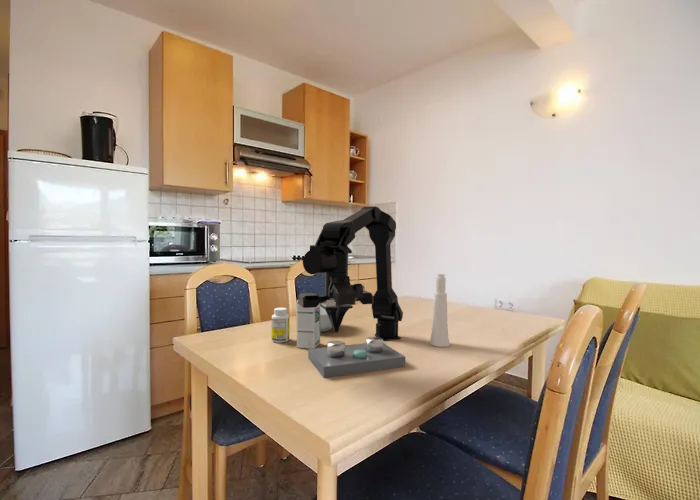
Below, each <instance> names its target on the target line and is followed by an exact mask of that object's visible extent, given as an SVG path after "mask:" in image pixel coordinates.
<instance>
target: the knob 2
mask: <svg viewBox="0 0 700 500" xmlns="http://www.w3.org/2000/svg"><path fill="white" fill-rule="evenodd" d="M365 343H366V350H367V351H369V352H371V353H377V352H381V351H383V343H384V340H383V339H382V338H379V337H377V336H369V337H366V339H365Z"/></svg>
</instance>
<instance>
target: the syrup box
mask: <svg viewBox="0 0 700 500" xmlns="http://www.w3.org/2000/svg"><path fill="white" fill-rule="evenodd" d="M320 304H321V303H319V305H318V306H317V307H312V308H303V307H302V306H300V305H299V304H298V299H297V300H296V310H297V317H296V348H297V349H307V350H308V349H316V348H318V346H319V345H320V344H321V332H320Z"/></svg>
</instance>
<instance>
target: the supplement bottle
mask: <svg viewBox="0 0 700 500" xmlns="http://www.w3.org/2000/svg"><path fill="white" fill-rule="evenodd" d="M273 313H274V314H272V315H271V341H272V342H273V343H275V344H276V343H278V344H279V343H280V344H281V343H286V342H288V341H289V340H290V315H289V313H288V308H286V307H276V308H274V309H273Z"/></svg>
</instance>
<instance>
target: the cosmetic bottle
mask: <svg viewBox="0 0 700 500" xmlns="http://www.w3.org/2000/svg"><path fill="white" fill-rule="evenodd" d="M445 276H446V274H445V273H437V276H436V280H435V281H436V283H435V292H434V298H433V313H432V324H431V326H432V327H431V333H430V341H429V344H430V345H431V346H432V347H437V348H445V347H449V346H450V345H451V344H450V339H449V338H450V337H449V328H448V325H449V324H448V296H447V295H448V293H446V282H447V281H446V277H445Z"/></svg>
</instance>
